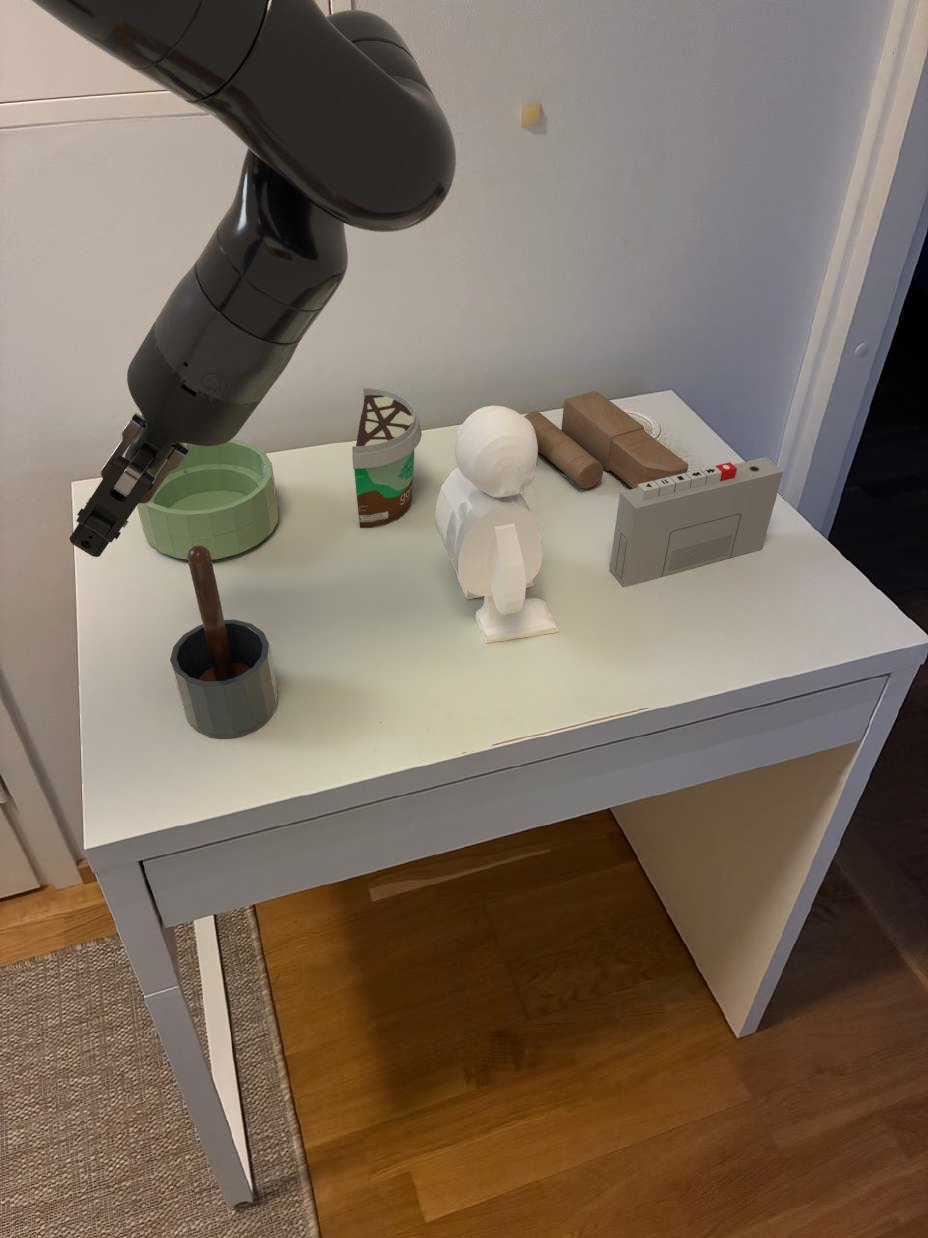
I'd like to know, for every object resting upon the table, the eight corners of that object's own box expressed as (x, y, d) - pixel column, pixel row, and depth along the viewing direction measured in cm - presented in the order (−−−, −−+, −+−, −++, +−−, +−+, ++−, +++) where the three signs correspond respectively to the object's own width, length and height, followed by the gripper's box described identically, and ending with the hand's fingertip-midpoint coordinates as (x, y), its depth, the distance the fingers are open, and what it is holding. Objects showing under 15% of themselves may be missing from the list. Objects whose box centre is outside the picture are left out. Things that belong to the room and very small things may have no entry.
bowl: (161, 579, 90) (148, 528, 86) (133, 505, 99) (119, 455, 95) (296, 543, 94) (289, 492, 90) (257, 476, 103) (249, 426, 99)
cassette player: (746, 533, 96) (767, 447, 90) (762, 549, 94) (785, 462, 88) (609, 570, 92) (621, 482, 85) (623, 587, 90) (637, 498, 83)
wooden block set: (593, 377, 109) (695, 453, 97) (588, 421, 112) (685, 499, 101) (462, 412, 102) (554, 497, 91) (461, 458, 106) (549, 545, 94)
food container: (420, 537, 95) (418, 450, 88) (358, 536, 95) (351, 449, 88) (425, 469, 104) (424, 386, 98) (369, 468, 104) (363, 385, 98)
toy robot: (566, 646, 84) (587, 447, 70) (467, 665, 82) (470, 465, 68) (516, 551, 94) (527, 362, 80) (427, 567, 92) (423, 375, 78)
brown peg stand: (209, 730, 75) (170, 576, 65) (194, 690, 79) (155, 537, 68) (268, 710, 77) (239, 557, 67) (251, 672, 80) (221, 520, 70)
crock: (197, 751, 74) (183, 697, 70) (175, 688, 79) (161, 635, 75) (289, 720, 77) (280, 667, 73) (262, 662, 82) (252, 609, 78)
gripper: (203, 262, 61) (105, 424, 71) (110, 369, 51) (11, 542, 61) (301, 336, 64) (193, 483, 74) (232, 452, 54) (117, 605, 63)
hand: (111, 509), depth 67 cm, fingers open, 8 cm apart
